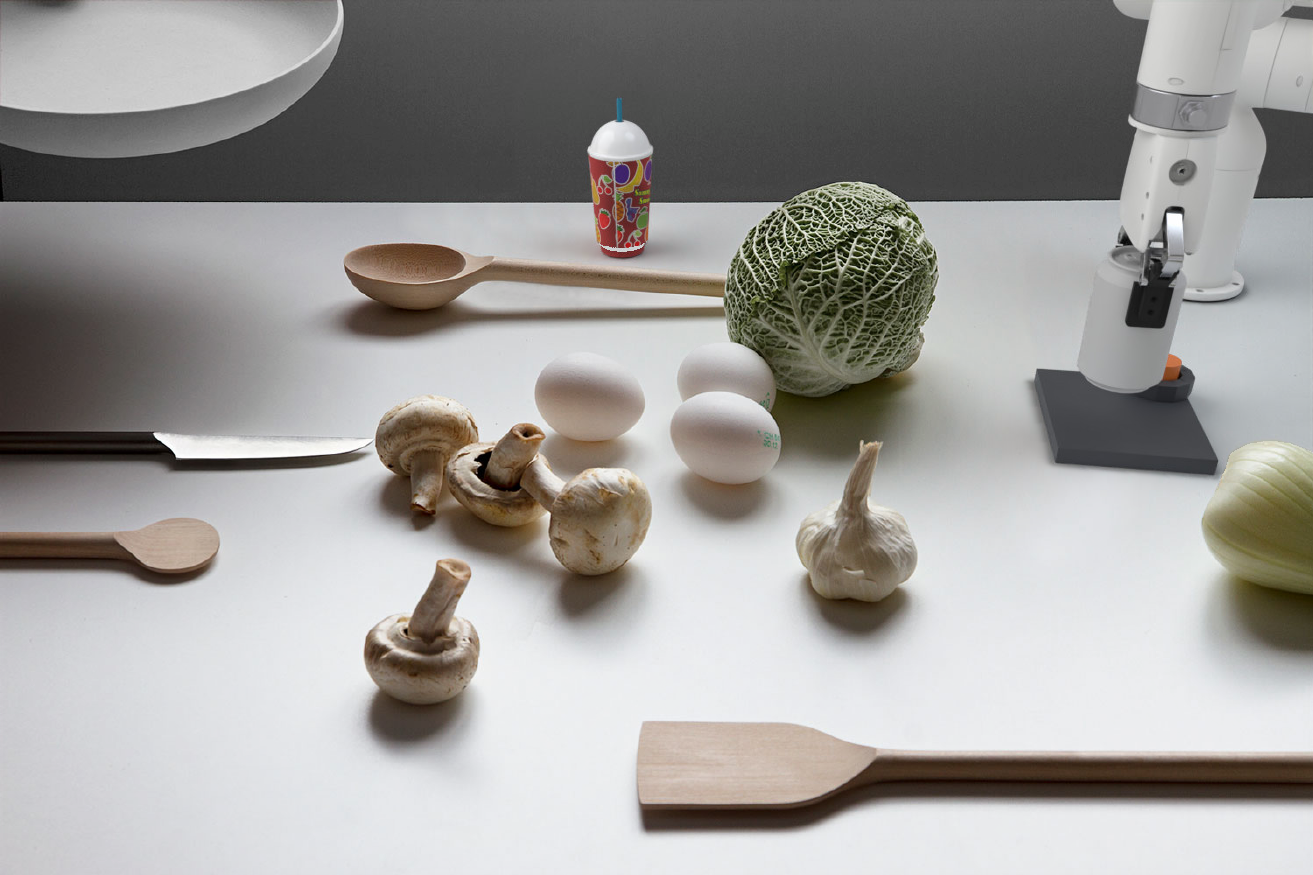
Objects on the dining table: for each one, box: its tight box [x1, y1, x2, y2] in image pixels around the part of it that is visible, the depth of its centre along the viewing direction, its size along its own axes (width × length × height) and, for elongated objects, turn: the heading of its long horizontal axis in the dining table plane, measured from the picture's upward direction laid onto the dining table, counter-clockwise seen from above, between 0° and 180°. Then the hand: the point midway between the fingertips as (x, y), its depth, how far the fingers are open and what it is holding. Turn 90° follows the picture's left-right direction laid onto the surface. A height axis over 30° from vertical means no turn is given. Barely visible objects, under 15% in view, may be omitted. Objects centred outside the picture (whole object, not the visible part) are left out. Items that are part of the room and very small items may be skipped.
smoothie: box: [586, 97, 654, 259], centre depth 146 cm, size 8×8×20 cm
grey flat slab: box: [1033, 364, 1219, 476], centre depth 110 cm, size 17×14×4 cm
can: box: [1076, 245, 1187, 393], centre depth 101 cm, size 8×8×12 cm
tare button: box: [1162, 353, 1183, 381], centre depth 113 cm, size 3×3×2 cm
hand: (1134, 305), depth 101 cm, fingers closed on can, 7 cm apart
